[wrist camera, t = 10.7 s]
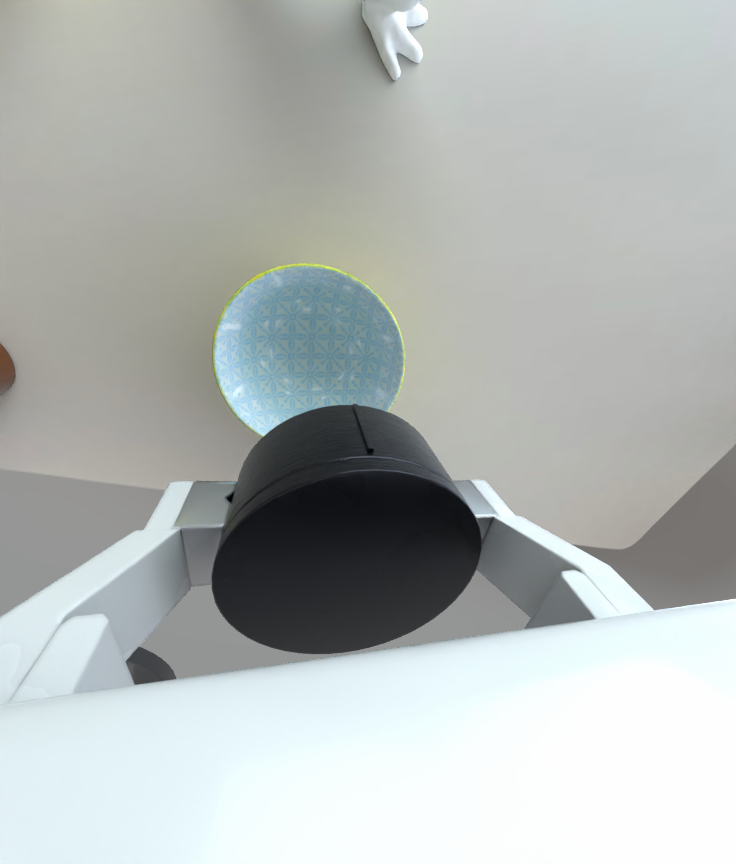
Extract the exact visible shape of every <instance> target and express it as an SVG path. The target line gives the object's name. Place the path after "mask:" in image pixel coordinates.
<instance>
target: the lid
mask: <svg viewBox="0 0 736 864" xmlns="http://www.w3.org/2000/svg"><path fill="white" fill-rule="evenodd" d="M481 549H482V537H481V531H480V526H479V523H478V521H477V518H476V516H475V514H474V512H473V511H472V509H471V508H470V506H469V505H468V503H467V502H466V500H465V499H464V497H463V496H462V494H461V493H460V491H459V490H458V488H457V487H456V485H455V484H454V482H453V481H452V479H451V478H450V476H449V475H448V474H447V472H446V471H445V469H444V468H443V466H442V465H441V463H440V462H439V460H438V459H437V457H436V456H435V454H434V453H433V451H432V450H431V448H430V447H429V445H428V444H427V442H426V441H425V439H424V438H423V437H422V436H421V434H420V433H419V432H418V431H417V430H416V429H415V428H414V427H412V426H411V425H410V424H409V423H407V422H406V421H404V420H403V419H401V418H399V417H397V416H396V415H393V414H391V413H388V412H386V411H383V410H380V409H376V408H372V407H367V406H359V405H357V404H353V405H334V406H326V407H321V408H317V409H313V410H309V411H306V412H304V413H301V414H298V415H296V416H294V417H292V418H289V419H288V420H286V421H284V422H282V423H280V424H279V425H278V426H276V427H275V428H273V429H272V430H271V431H269V432H268V433H267V434H266V435H265V436H264V437H263V438H262V439H260V440H259V441H258V443H257V444H256V445H255V446H254V448H253V449H252V450H251V451H250V453H249V455H248V456H247V458H246V460H245V461H244V463H243V466H242V469H241V471H240V474H239V477H238V481H237V485H236V488H235V492H234V495H233V498H232V501H231V506H230V509H229V513H228V516H227V520H226V523H225V526H224V529H223V532H222V536H221V539H220V542H219V547H218V549H217V553H216V556H215V560H214V564H213V569H212V575H211V581H212V591H213V595H214V599H215V603H216V604H217V606H218V609H219V611H220V613H221V614H222V615H223V617H224V618H225V619H226V620H227V622H228V623H229V624H231V626H233V627H234V628H235V629H236V630H237V631H238V632H240V633H241V634H243V635H244V636H246V637H247V638H250V639H251V640H253V641H256V642H258V643H260V644H262V645H265V646H268V647H271V648H275V649H279V650H283V651H288V652H295V653H304V654H332V653H343V652H350V651H356V650H360V649H365V648H369V647H373V646H376V645H379V644H383V643H386V642H389V641H391V640H394V639H397V638H399V637H401V636H403V635H406V634H408V633H410V632H412V631H414V630H416V629H417V628H419V627H421V626H423V625H424V624H426V623H428V622H429V621H431V620H432V619H434V618H435V617H436V616H438V615H439V614H440V613H441V612H443V611H444V610H445V609H446V608H448V607H449V606H450V605H451V604H452V603H453V602H454V601H455V600H456V599H457V598H458V596H459V595H460V594H461V593H462V592H463V591H464V589H465V588H466V586H467V585H468V584H469V582H470V580H471V579H472V576H473V575H474V573H475V571H476V568H477V566H478V563H479V560H480V555H481Z"/></svg>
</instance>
